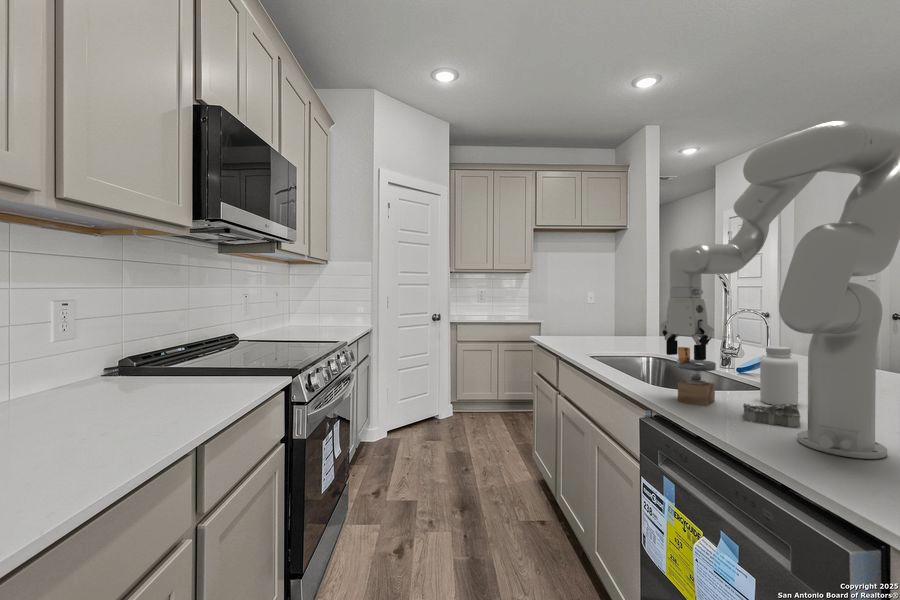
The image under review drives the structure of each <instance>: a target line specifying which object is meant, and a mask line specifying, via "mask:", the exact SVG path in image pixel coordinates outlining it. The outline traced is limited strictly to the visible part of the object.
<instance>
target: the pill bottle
mask: <svg viewBox="0 0 900 600" xmlns="http://www.w3.org/2000/svg"><path fill="white" fill-rule="evenodd" d="M765 354H766V355H765V356H763V357H762V358H761V359H760V362H759V363H760V365H759V366H760V367H759V368H760V369H759V370H760V373H759V375H760V376H759V377H760V378H759V379H760V381H759V382H760V385H759V386H760V390H759V391H760V392H759V393H760V401H761V402H762V403H764V404H768V405H770V404H771V405H770V406H772V405H774V406H780V405H781V404H792V405H793V404H794V405H797V406H798V404H799V403H798V402H799V364H798V361H797V360H796V359H795V358H793V357H791V356H792V348H791V347H789V346H780V345H779V346H778V345H771V346H770V345H769V346H766V347H765Z"/></svg>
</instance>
